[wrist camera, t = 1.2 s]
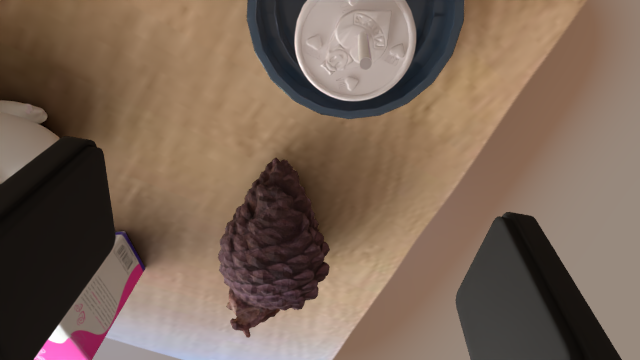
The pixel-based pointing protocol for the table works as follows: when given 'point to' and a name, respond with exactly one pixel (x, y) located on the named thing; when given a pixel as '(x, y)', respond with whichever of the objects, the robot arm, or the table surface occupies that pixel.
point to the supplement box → (96, 305)
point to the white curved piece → (21, 136)
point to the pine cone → (272, 249)
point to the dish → (428, 61)
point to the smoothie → (355, 45)
